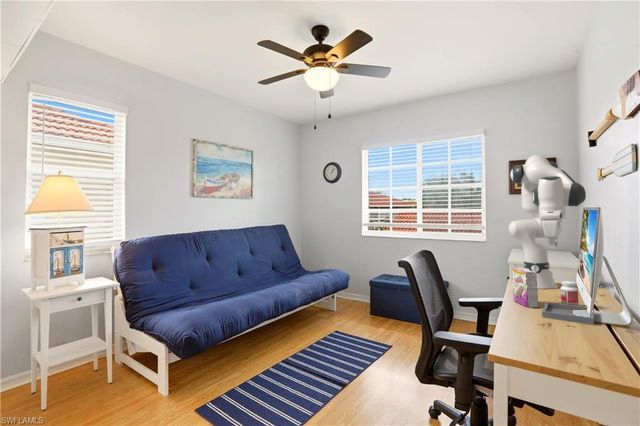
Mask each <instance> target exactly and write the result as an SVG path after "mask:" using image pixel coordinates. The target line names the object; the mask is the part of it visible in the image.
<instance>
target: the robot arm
mask: <svg viewBox="0 0 640 426" xmlns="http://www.w3.org/2000/svg"><path fill="white" fill-rule="evenodd" d="M509 174H510V179H511V181H512V182H513V183H514V184H519V185H520V184H521V193H520V194H521V208H522V210H523V211H525V212H526V213H529V214H531V215H532V216H533V218H530V219H529V218H527V219H525V218H524V219H517V220H512V221H511V222H510V223H509V225H508V233H509V234H510V235H511V237H513V238H515V239H516V240H517V241H518V242H519V243H520V245H521V247H522V250H523V257H524V261H523V267H524V268H523V269H526V270H529V271H533V272H536V277H537V290H538V289H540V290H541V289H542V290H546V289H547V290H549V289H559V286H558V284H557V283H556V282H555V279H554V276H553V275H554V273H553V272H552V271H551V270H550V263H549V260H548V259H549V258H548V256H549V255H548V249H547V248H546V247H545V246H544V245H543V244H540V243H537V241H536V239H539V238H540V239H548V243H549V249H552V250H555V249H556V247H558V245H559V243H558V242H559V241H558V240H559V236H560V235H561V232H562V229H563V228H562V224H561V223H563V219H566V218H567V217H566V216H567V215H566V207H578V206H581V204H583V203H584V202H585V200H586V198H587V196H586V194H587V193H586V189H585V188H584V186H583V185H582V184H580V183H578V182H576V180H574V178H572V177H571V176H570V174H568V173H567V172H566V171H565V170H563V169H560V168H559V165H558V164H557V163H556V162H554V161H549V160H548V159H547V158H546V157H545V156H544V155H542V154H533V155H531V156H529V157H528V158H527V159H526V160H525V164H522V163H521V164H518V165H517V164H516V165H515V166H513V167H512V168H511V170H510V173H509Z"/></svg>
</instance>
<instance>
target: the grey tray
mask: <svg viewBox="0 0 640 426" xmlns="http://www.w3.org/2000/svg"><path fill="white" fill-rule="evenodd" d="M586 307H587V306H580V305H579V306H573V305H565V304H561V303H555V302H549V301H548V302H547V301H546V302H545V304H544V305H543V309H542V310H541V315H542V317H541V318H544V319H545V318H546V319H551V320H558V321H565V322H572V323H579V324H584V325H592V326H594V325H595V312H594V309H593V312H592V314H590V317H583V316H576V315H574V314H573V310H587V308H586Z"/></svg>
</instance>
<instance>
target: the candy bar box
mask: <svg viewBox="0 0 640 426" xmlns="http://www.w3.org/2000/svg"><path fill="white" fill-rule="evenodd" d="M511 276H512V277H511V279H512V291H513V302H515V303H516V304H518V305H521V306H523V307H526V308H527V309H535V308H537V309H539V298H538V297H539V295H538V288H537V277H536V272H533V271H529V270H526V269H524V268H523V267H514V268H511Z"/></svg>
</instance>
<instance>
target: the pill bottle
mask: <svg viewBox="0 0 640 426" xmlns="http://www.w3.org/2000/svg"><path fill="white" fill-rule="evenodd" d="M560 302H561V303H560V304H565V305H573V306H580V304H579V303H580V301H579V291H578V288H577V287H576V282H575V281H569V280H568V281H567V280H565V281H561V287H560Z"/></svg>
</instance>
